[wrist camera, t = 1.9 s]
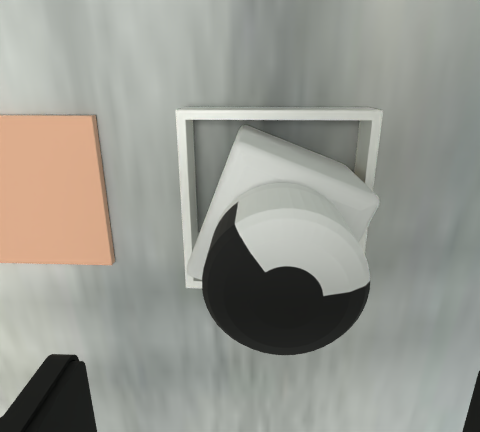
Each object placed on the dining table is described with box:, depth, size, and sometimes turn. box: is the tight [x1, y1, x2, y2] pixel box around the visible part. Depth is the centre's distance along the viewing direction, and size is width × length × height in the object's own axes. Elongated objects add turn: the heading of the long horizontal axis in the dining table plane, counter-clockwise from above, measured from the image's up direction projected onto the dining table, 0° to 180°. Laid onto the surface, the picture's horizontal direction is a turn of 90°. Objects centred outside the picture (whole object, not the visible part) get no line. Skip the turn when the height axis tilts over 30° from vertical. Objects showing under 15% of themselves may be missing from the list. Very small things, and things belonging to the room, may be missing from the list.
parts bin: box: [176, 107, 383, 288], centre depth 23 cm, size 11×11×2 cm
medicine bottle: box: [187, 125, 380, 355], centre depth 18 cm, size 7×7×12 cm
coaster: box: [0, 115, 115, 265], centre depth 24 cm, size 12×10×1 cm
